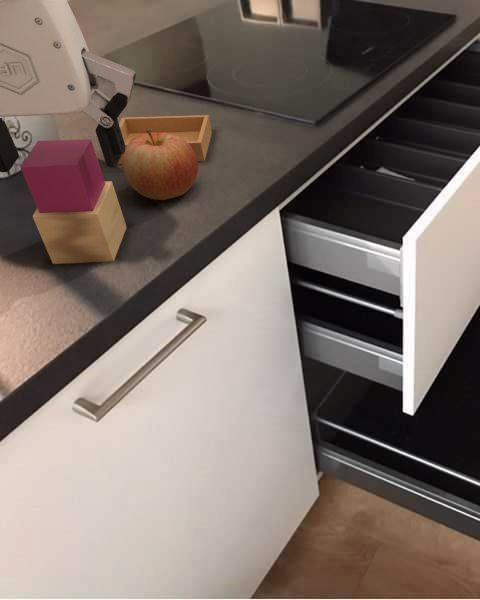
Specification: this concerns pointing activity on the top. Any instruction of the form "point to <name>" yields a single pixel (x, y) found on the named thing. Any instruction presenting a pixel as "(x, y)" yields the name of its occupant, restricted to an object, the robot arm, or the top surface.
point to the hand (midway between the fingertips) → (63, 162)
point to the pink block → (63, 175)
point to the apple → (159, 165)
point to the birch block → (84, 231)
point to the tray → (171, 130)
